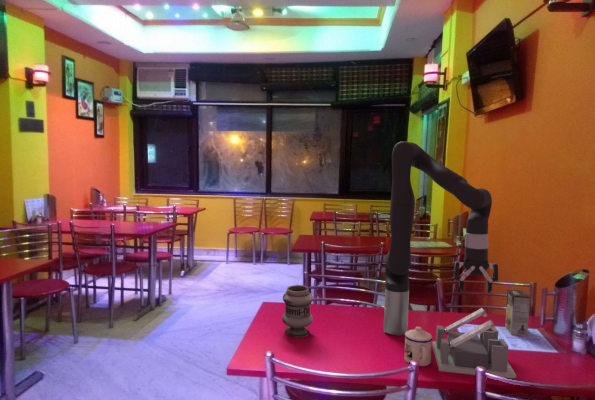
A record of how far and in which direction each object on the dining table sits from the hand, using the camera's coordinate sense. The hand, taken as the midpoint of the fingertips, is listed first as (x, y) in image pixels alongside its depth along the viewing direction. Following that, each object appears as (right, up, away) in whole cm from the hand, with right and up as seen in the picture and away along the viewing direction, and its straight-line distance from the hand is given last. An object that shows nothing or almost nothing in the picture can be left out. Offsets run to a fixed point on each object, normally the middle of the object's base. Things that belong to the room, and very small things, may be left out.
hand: (475, 291), depth 147 cm
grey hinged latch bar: (-3, -12, +1) cm, 12 cm away
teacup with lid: (-22, -23, -6) cm, 32 cm away
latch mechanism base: (-3, -23, -4) cm, 23 cm away
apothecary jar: (-63, -20, +18) cm, 68 cm away
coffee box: (+26, -21, +23) cm, 41 cm away
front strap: (-5, -13, -11) cm, 17 cm away
